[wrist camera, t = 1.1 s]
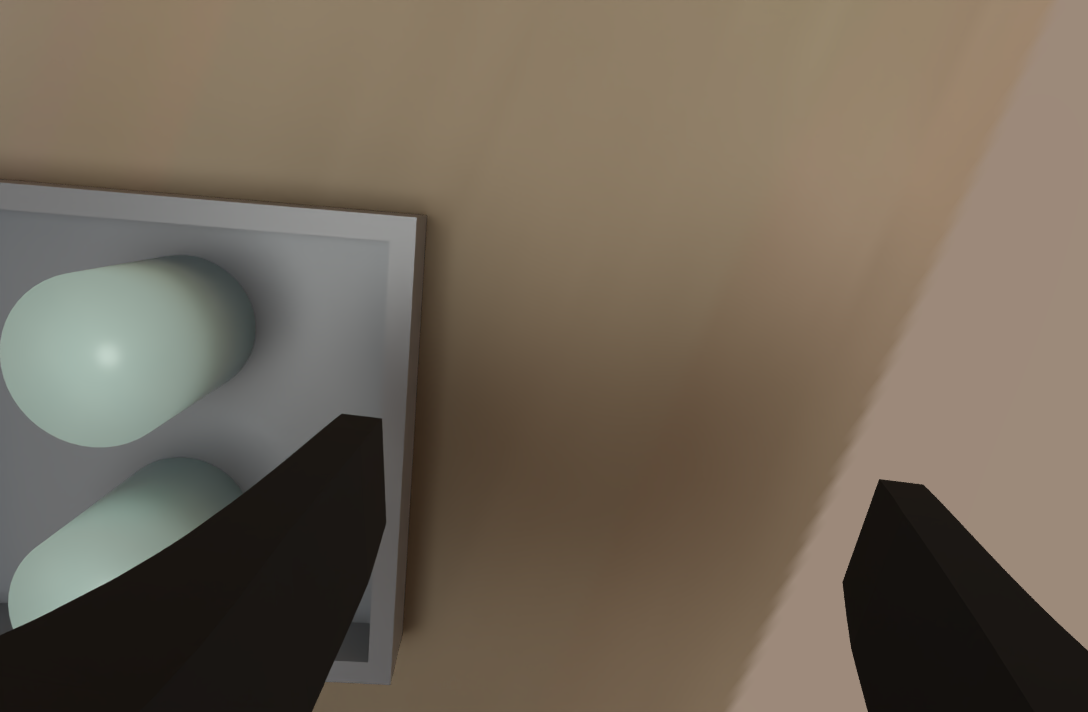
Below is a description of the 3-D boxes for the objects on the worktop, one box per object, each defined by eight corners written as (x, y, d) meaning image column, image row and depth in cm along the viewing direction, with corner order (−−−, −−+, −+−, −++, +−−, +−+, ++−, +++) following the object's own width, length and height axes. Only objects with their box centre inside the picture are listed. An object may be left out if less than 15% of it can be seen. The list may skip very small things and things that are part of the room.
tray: (402, 633, 24) (390, 684, 22) (-27, 610, 24) (-92, 660, 21) (426, 214, 22) (416, 217, 20) (-46, 175, 21) (-120, 172, 19)
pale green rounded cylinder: (250, 586, 23) (181, 691, 18) (116, 579, 23) (10, 682, 18) (253, 461, 23) (182, 535, 18) (115, 452, 22) (5, 524, 17)
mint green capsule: (254, 396, 22) (183, 453, 17) (114, 386, 22) (2, 441, 17) (257, 260, 22) (183, 279, 17) (113, 249, 21) (-4, 264, 16)
